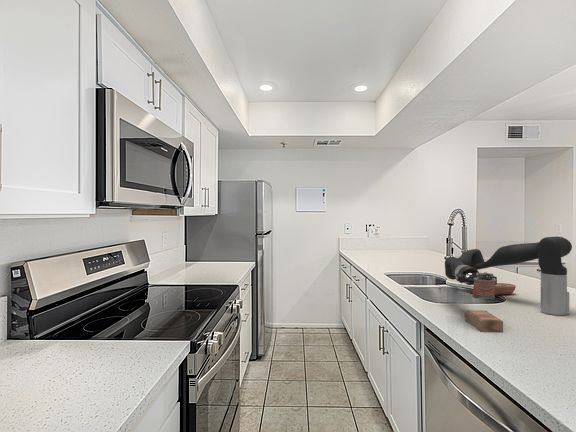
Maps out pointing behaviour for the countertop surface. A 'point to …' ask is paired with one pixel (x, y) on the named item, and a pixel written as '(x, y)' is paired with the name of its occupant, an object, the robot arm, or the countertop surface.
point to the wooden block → (484, 321)
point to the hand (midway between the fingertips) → (483, 282)
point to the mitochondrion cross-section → (504, 288)
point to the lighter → (484, 286)
